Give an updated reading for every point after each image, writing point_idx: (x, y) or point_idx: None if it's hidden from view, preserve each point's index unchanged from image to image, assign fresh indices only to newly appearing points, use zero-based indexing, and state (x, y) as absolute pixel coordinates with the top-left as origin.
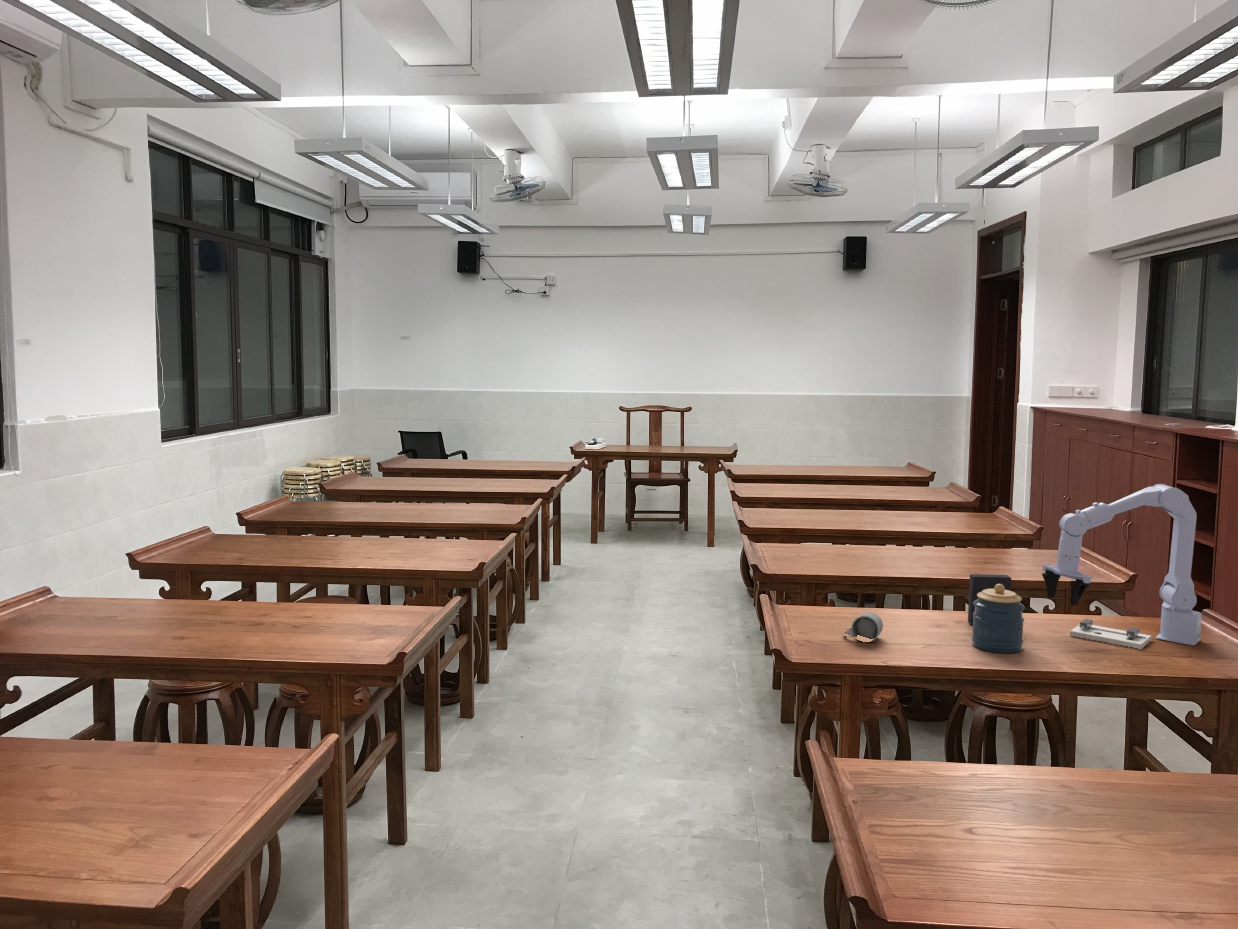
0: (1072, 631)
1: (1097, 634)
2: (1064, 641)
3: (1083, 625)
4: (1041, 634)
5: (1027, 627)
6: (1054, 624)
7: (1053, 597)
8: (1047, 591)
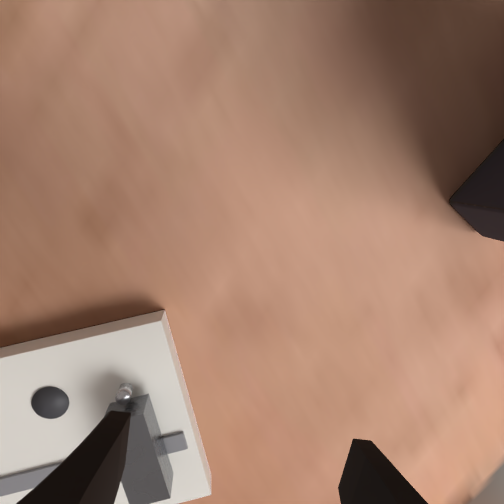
0: (148, 322)
1: (37, 380)
2: (122, 195)
3: (125, 408)
4: (266, 213)
5: (374, 270)
6: (318, 423)
7: (341, 479)
8: (400, 478)
